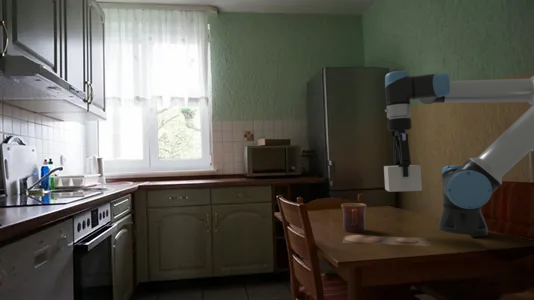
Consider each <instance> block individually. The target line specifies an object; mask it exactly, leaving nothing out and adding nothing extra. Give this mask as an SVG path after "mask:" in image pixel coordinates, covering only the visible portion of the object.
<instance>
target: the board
mask: <svg viewBox="0 0 534 300" xmlns="http://www.w3.org/2000/svg"><path fill="white" fill-rule="evenodd" d="M342 244H365V245H387V246H390V245H391V246H412V247H432V244H431V243H430V242H429V241H428V239H427V238H426V237H412V236H411V237H408V236H378V235H377V236H376V235H370V234H369V235H368V234H351V235H350V234H348V235H347V234H345V235H343V238H342Z"/></svg>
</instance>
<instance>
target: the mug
mask: <svg viewBox="0 0 534 300" xmlns="http://www.w3.org/2000/svg"><path fill="white" fill-rule="evenodd" d="M340 206H341V209H342V214H343V219H342V220H343V224H342V225H343V226H342V227H343V231H344V232H347V233H355V234H356V233H364V232H366V218H365V217H366V216H365V214H366V209H367V204H366V203H360V202H357V203H356V202H349V203H348V202H347V203H342V204H341V205H340Z"/></svg>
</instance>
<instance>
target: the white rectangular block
mask: <svg viewBox="0 0 534 300" xmlns="http://www.w3.org/2000/svg"><path fill="white" fill-rule="evenodd" d="M421 169H422V168H421V165H419V164H410V165H409V171H410V187H403V188H401V176H400V167H398V166H395V165H383V173H384V174H383V175H384V189H385V191H387V192H389V193H390V192H392V193H394V192H418V191H419V192H420V191H421V192H422V191H423V183H422V182H423V180H422V170H421Z"/></svg>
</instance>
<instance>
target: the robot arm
mask: <svg viewBox="0 0 534 300" xmlns="http://www.w3.org/2000/svg"><path fill="white" fill-rule="evenodd" d="M384 85H385V86H384V89H385V90H384V92H385V104H386V109H384V112H385V113H386V118H387V121H386V123H387V124H386V125H387V126H386V128H387V131H388V132H394V136H392V145H393V146H392V150H393V151H392V154H393V156H392V158H393V166H398V167H400V176H401V188H403V187H410V171H409V165H412V162H411V155H410V153H411V152H410V146H409V134H408V133H406V131H409V130H410V131H411V130H412V128H413V127H412V118H410V117H411V116H412V111H411V100H418V101H419V102H420V103H422V104H424V105H431V104H436V103H437V104H441V103H528V104H529V105H530V107H529V108H528V109H527V110H526V111H525V112H524V113H523V114H522V115H521V116H519V118H517V119H516V121H515V122H513V123H512V124H511V125H510V126H509V127H508V128H507V129H505V131H504V132H503V133H501V135H500V136H499V137H498V138H496V139H495V141H493V142H492V143H491V144H490V145H489V146H488V147H487V148H486V149H485V150H484V151H483V152H481V154H479V156H478V157H469V158H468V159H467V160H466V161H465V162H464V163H463V164H456V165H455V164H454V165H453V164H452V165H445V166H444V167H442V170H441V177H442V178H441V179H442V180H441V182H442V186H441V187H442V212H441V215H440V217H439V222H438V226H437V227H438V228H437V229H438V230H439V231H443V232H446V233H451V234H452V233H453V234H460V235H461V234H463V235H469V236H470V237H471V238H479V237H480V238H481V237H486V236H488V235H489V233H488V232H489V231H488V230H489V229H488V225H487V223H486V220H485V218H484V215H483V213H482V207H483V206H484V205H486V204H487V203H488V202H489V200H490V199H491V197H492V194H493V193H494V192H495V191H497V190H498V189H499V188H500V187H501V186H502V185H503V179H502V178H503V176H505V174H506V173H508V172H509V171H510V170H512V168H514V167H515V165H516V164H517V163H519V162H520V161H521V160H522V159H523V158H524V157H526V155H528V153H530V152H531V151H532V150H533V149H534V75H532V76H531V77H530V78H509V79H506V78H505V79H503V78H502V79H474V80H472V79H471V80H470V79H469V80H467V79H465V80H450V76H449V73H447V72H439V73H438V72H435V73H430V74H429V73H428V74H421V75H413V76H412V75H411V76H410V75H409V72H408V71H406V70H394V71H390V72H388V73H386V75H385V76H384Z"/></svg>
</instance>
